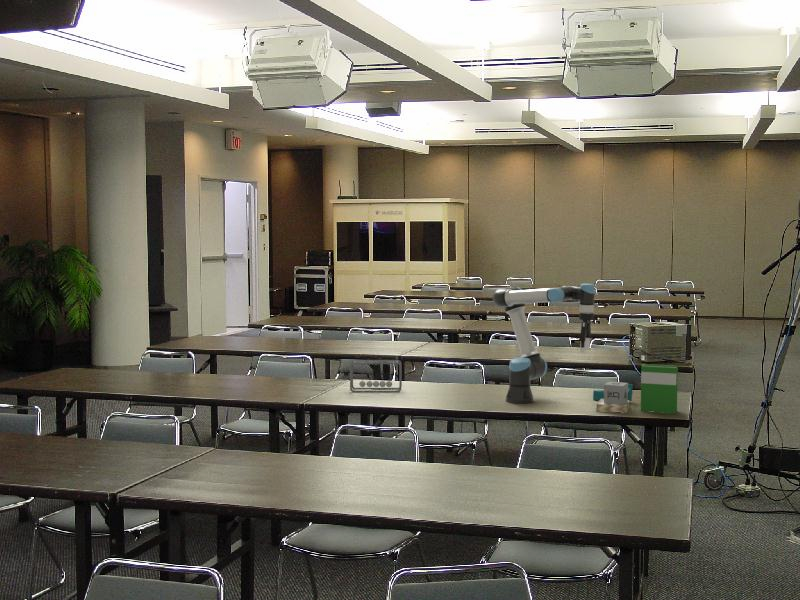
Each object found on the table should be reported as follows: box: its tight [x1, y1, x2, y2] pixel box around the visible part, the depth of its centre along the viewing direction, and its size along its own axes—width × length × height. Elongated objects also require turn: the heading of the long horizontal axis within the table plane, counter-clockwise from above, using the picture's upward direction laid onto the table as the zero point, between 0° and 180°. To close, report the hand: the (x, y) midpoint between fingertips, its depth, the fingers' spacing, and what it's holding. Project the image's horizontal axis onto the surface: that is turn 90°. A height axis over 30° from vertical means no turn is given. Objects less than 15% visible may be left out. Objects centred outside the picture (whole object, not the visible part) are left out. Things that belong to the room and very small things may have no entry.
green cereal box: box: [640, 363, 679, 414], centre depth 488 cm, size 18×7×24 cm, turn 68°
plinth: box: [595, 399, 631, 414], centre depth 493 cm, size 15×15×4 cm
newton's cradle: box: [349, 359, 403, 393], centre depth 549 cm, size 30×10×18 cm, turn 89°
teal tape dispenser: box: [592, 383, 634, 402], centre depth 516 cm, size 18×11×10 cm, turn 40°
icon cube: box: [603, 381, 629, 405], centre depth 492 cm, size 10×10×10 cm
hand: (584, 351), depth 504 cm, fingers open, 13 cm apart
